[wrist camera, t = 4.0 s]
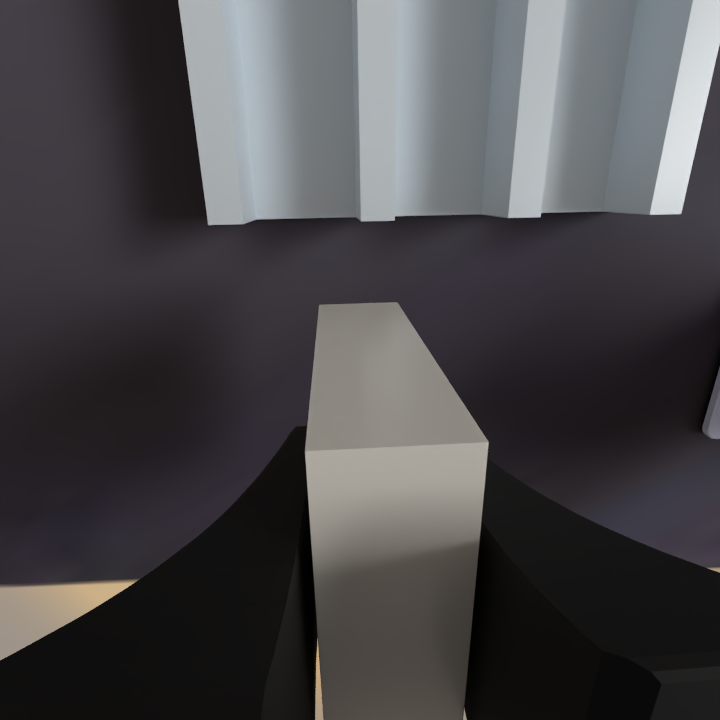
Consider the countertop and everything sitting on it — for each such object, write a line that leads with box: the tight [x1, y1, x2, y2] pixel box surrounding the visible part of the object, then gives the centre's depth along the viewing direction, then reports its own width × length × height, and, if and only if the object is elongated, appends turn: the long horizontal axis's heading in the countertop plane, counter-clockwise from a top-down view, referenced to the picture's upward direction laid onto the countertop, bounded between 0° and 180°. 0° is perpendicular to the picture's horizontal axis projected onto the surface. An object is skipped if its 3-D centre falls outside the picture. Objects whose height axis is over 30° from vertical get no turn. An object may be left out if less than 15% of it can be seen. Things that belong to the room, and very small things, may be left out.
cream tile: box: [305, 302, 489, 720], centre depth 9 cm, size 2×6×7 cm, turn 1°
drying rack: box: [178, 0, 720, 225], centre depth 13 cm, size 14×11×4 cm
